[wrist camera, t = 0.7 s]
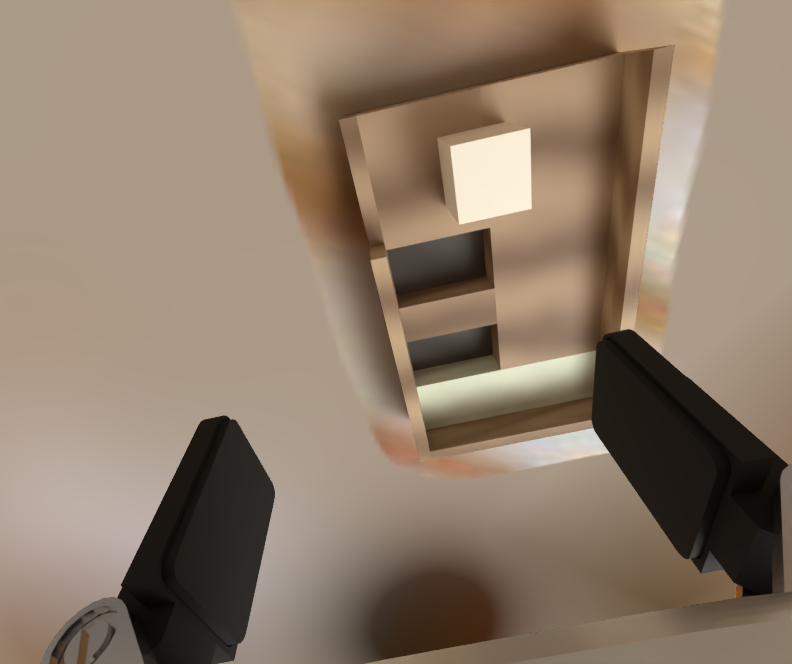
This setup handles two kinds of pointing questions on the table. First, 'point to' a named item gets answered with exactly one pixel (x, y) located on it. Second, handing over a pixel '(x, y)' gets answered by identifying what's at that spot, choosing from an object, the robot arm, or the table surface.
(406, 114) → the box
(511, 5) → the table surface
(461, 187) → the ivory block
